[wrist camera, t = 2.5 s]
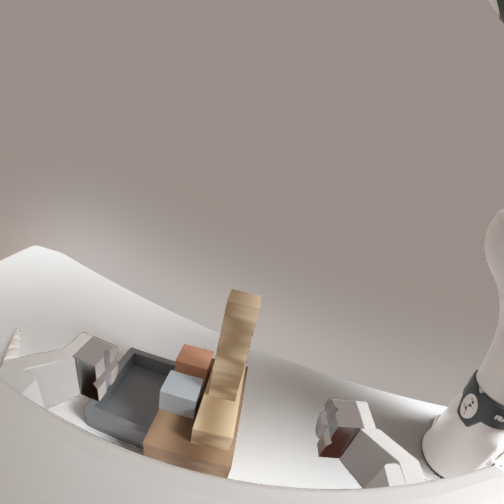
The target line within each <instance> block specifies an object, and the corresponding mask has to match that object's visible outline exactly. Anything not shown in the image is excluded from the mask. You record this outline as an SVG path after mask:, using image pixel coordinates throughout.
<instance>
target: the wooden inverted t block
mask: <svg viewBox="0 0 504 504" xmlns="http://www.w3.org/2000/svg"><path fill="white" fill-rule="evenodd" d="M260 302H261V296H258V295H254V294H250V293H245V292H241V291H237V290H233V289H232V290H231V293H230V295H229V298H228V300H227V305H226V309H225V315H224V319H223V324H222V329H221V334H220V339H219V344H218V349H217V354H216V359H215V362H214V365H213V368H212V371H211V374H210V377H209V380H208V383H207V386H206V390H205V393H204V396H203V399H202V402H201V405H200V408H199V411H198V414H197V417H196V420H195V423H194V426H193V429H192V436H191V443H194V444H198V445H202V446H206V447H210V448H214V449H219V450H223V451H228V452H229V450H230V446H231V443H232V440H233V436H234V430H235V425H236V419H237V413H238V408H239V402H240V396H241V390H242V384H243V379H244V373H245V367H246V359H247V355H248V352H249V348H250V344H251V340H252V336H253V333H254V328H255V325H256V321H257V317H258V313H259V309H260Z"/></svg>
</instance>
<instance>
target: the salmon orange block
mask: <svg viewBox="0 0 504 504" xmlns="http://www.w3.org/2000/svg"><path fill="white" fill-rule="evenodd" d="M212 357H213V352H212V351H208V350H205V349H201V348H197V347H193V346H190V345H186V344H184V346H183V348H182V350H181V352H180V353H179V355H178V357H177V359H176V363H175V371H176V372H180V373H183V374H186V375H190V376H194V377H197V378H201V379H204V381H203V387H204V386H205V383H206V380H207V377H208V374H209V371H210V368H211V363H212Z"/></svg>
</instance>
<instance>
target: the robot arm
mask: <svg viewBox="0 0 504 504" xmlns="http://www.w3.org/2000/svg"><path fill="white" fill-rule="evenodd" d="M489 2H490V3H491V5H492V6H493V8H494V9H495V11H496V12H497V13H498V15H499V18H500V20H501V21H502V22H503V23H504V0H489ZM485 255H486V260H487V263H488V266H489V268H490V270H491V272H492V274H493V276H494V279H495V281H496V284H497V287H498V292H499V298H500V299H499V300H500V316H499V322H498V327H497V330H496V333H495V336H494V339H493V341H492V344H491V346H490V348H489V350H488V353H487V355H486V357H485V359H484V361H483V363H482V364H481V367H480V368H479V370H477V371H475V373H474V374H473V376H472V377H471V378H470V379H469V381H468V384H467V385H466V387H465V388H464V390H463V391H462V392H460V393H459V394H458V395H457V397H456V398H455V399H454V400H453V402H452V403H451V404H450V405H449V407H448V408H447V409H446V410H445V411H444V413H443V414H442V415H438V416H437V417H436V418H435V419H434V420H433V424H432V427H431V428H430V429H429V430H428V431H427V432H426V434H425V435H424V437H423V441H422V449H423V453H424V456H425V458H426V460H427V462H428V463H429V465H430V466H431V467H432V469H433V470H434V471H435V472H437V473H438V474H439V475H441V476H442V477H444V478H442V479H437V480H432V481H426V479H425V476H424V473H423V471H422V468H421V466H420V463H419V461H418V460H417V459H416V458H415V457H413V456H412V455H411V454H410V453H408V452H407V451H406V450H404V449H403V448H402V447H401V446H400V445H398V444H397V443H396V442H395V441H393V440H392V439H391V438H390V437H388V436H387V435H386V434H385V433H384V432H382V431H381V430H380V429H376V426H375V423H374V420H373V418H372V415H371V412H370V409H369V406H368V404H367V402H366V401H355V400H354V401H351V400H341V399H332V398H330V399H329V400H328V401H327V402H326V404H325V411H324V412H322V413H321V414H320V416H319V418H318V420H317V424H316V436H317V437H318V438H319V439H320V440H319V442H318V443H317V446H318V454H319V457H329V458H340V459H339V460H340V461H341V462H342V463H343V465H344V466H345V467H346V468H347V470H348V471H349V472H350V473H351V475H352V476H353V477H354V478H355V480H356V481H357V482H358V483H359V485H360V486H361V487H362V488H363V489H308V488H293V487H281V486H272V485H264V484H257V483H250V482H244V481H238V480H232V479H227V478H222V477H218V476H213V475H209V474H204V473H200V472H196V471H192V470H189V469H185V468H181V467H178V466H175V465H171V464H168V463H165V462H162V461H159V460H156V459H153V458H150V457H147V456H144V455H141V454H139V453H136V452H133V451H131V450H128V449H126V448H123V447H121V446H118V445H116V444H113V443H111V442H109V441H107V440H104V439H102V438H100V437H98V436H96V435H93V434H91V433H89V432H87V431H85V430H83V429H81V428H79V427H77V426H75V425H73V424H71V423H70V422H68V421H66V420H64V419H62V418H60V417H59V416H57V415H55V414H53V413H52V412H50V411H48V410H47V409H48V408H50V407H52V406H55V405H57V404H60V403H62V402H65V401H67V400H69V399H72V398H74V397H76V396H79V395H80V394H82V395H85V396H87V397H89V398H91V399H94V400H96V401H98V402H99V401H100V400H101V399H102V397H103V396H104V395H105V393H106V392H107V389H106V386H109V385H112V384H113V382H114V381H115V379H116V376H117V373H118V362H117V361H116V359H115V357H116V356H117V355H118V348H117V346H116V345H113V344H111V343H109V342H106V341H104V340H102V339H99V338H97V337H94V336H92V335H90V334H87V333H85V332H84V333H81V334H80V335H79V336H78V337H76V338H75V339H74V340H73V341H72V342H71V343H70V344H68V345H67V346H66V347H65V348H64V349H63V350H62V351H60V350H54V351H49V352H44V353H39V354H34V355H28V356H23V357H17V358H12V359H9V360H8V361H7V362H6V363H4V364H3V365H2V366H1V367H0V504H504V208H503V209H501V210H500V211H499V212H498V213H497V214H496V215H495V216H494V218H493V219H492V221H491V223H490V224H489V227H488V229H487V233H486V238H485Z"/></svg>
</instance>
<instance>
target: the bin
mask: <svg viewBox="0 0 504 504" xmlns="http://www.w3.org/2000/svg"><path fill="white" fill-rule="evenodd" d="M175 363H176V362H175V361H171V360H168V359H165V358H162V357H158V356H155V355H152V354H149V353H146V352H143V351H140V350H137V349H134V348H130V349H129V351H128V352H127V353H126V354H125V356H124V357H123V358H122V359H121V361H120V362H119V363H118V373H117V376H116V379H115V381H114V382H113V384H112V385H109V386H106V389H107V392H106V393H105V395H104V396H103V397H102V399H101V400H100V401H99V402H98V401H96V400H94V399H90V400H89V402H88V403H87V404H86V406H85V407H84V412H85V416H86V421H87V425H88V426H90V427H93V428H95V429H97V430H99V431H101V432H103V433H106V434H108V435H110V436H113V437H115V438H117V439H120V440H122V441H125V442H127V443H130V444H132V445H135V446H138V447H140V448H143V441H144V439H145V437H146V435H147V433H148V431H149V428H150V426H151V424H152V422H153V420H154V418H155V416H156V414H157V412H158V410H159V398H160V390H161V388H162V386H163V384H164V382H165V380H166V378H167V376H168V374H169V372H170V371H171V370H173V371H175Z"/></svg>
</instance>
